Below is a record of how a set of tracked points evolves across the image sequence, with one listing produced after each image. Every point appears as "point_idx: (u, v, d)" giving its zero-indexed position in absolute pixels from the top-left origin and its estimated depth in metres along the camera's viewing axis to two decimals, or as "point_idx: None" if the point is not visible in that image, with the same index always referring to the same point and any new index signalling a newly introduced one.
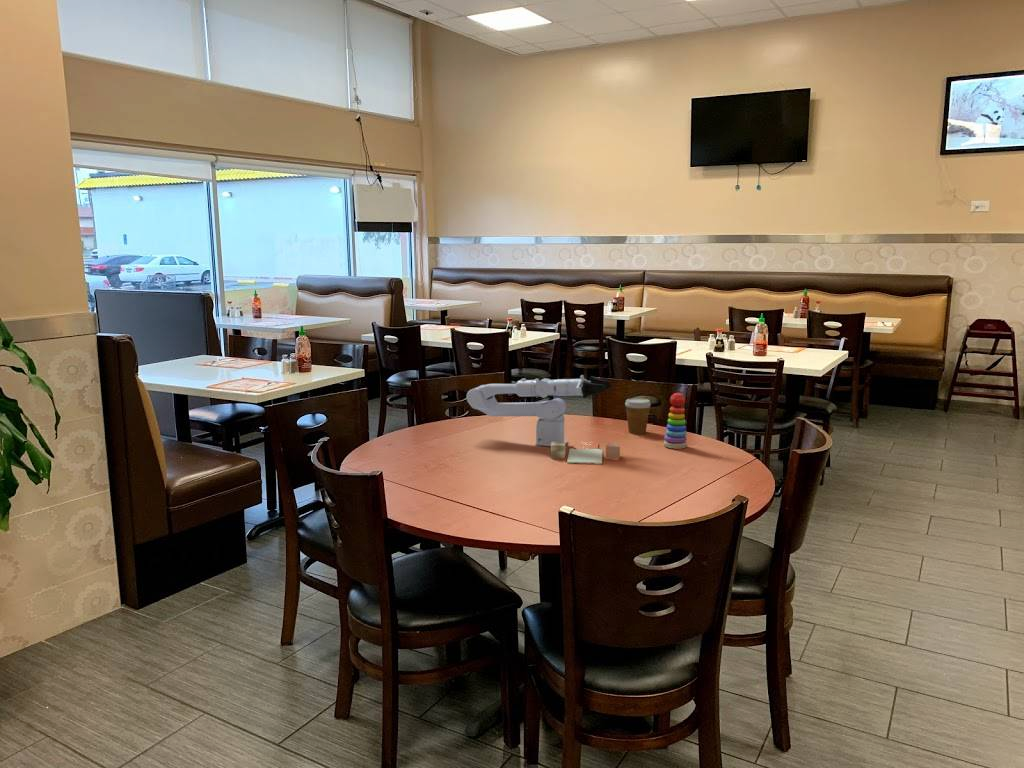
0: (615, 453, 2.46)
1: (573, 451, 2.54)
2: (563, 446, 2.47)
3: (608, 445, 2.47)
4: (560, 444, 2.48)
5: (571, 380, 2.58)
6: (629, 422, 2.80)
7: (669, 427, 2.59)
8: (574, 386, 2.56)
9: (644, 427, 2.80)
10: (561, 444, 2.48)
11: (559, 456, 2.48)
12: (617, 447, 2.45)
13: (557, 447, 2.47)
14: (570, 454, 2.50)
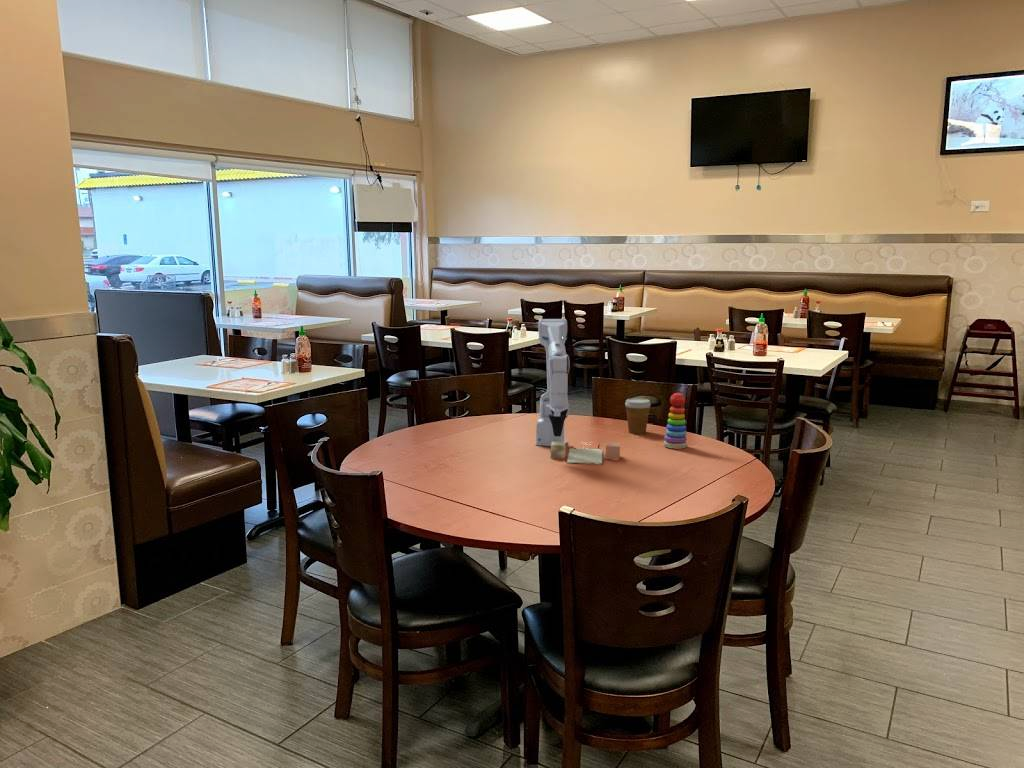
0: (615, 453, 2.46)
1: (573, 451, 2.54)
2: (563, 446, 2.47)
3: (608, 445, 2.47)
4: (560, 444, 2.48)
5: None
6: (629, 422, 2.80)
7: (669, 427, 2.59)
8: None
9: (644, 427, 2.80)
10: (561, 444, 2.48)
11: (559, 456, 2.48)
12: (617, 447, 2.45)
13: (557, 447, 2.47)
14: (570, 454, 2.50)
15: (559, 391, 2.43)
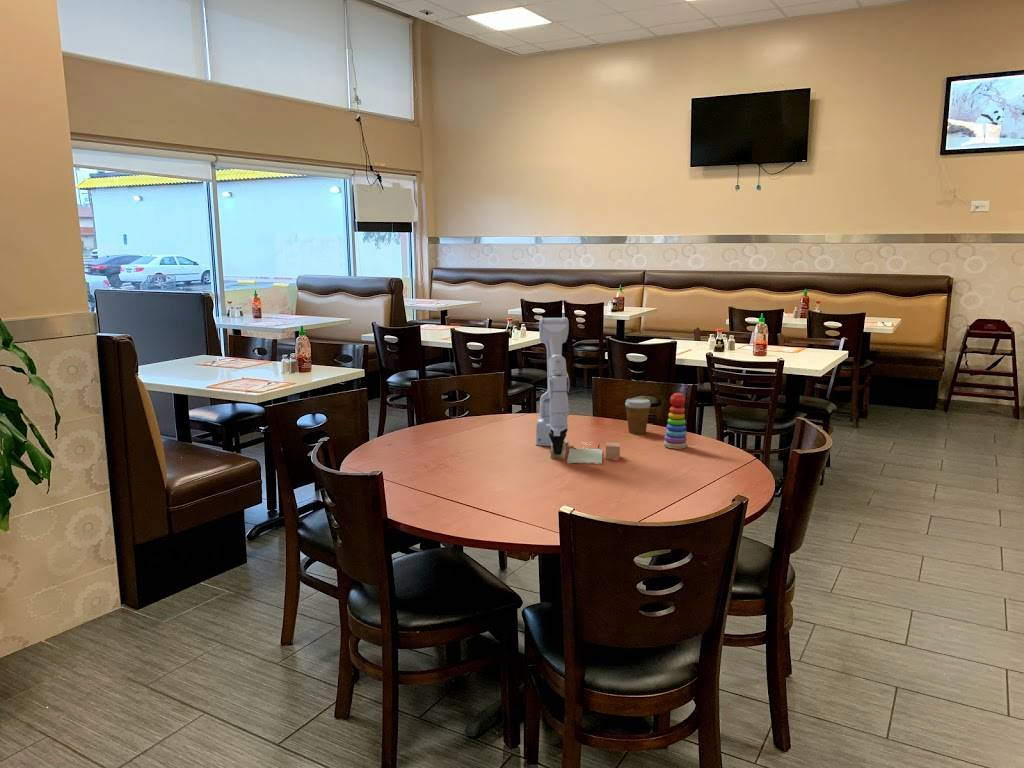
0: (615, 453, 2.46)
1: (573, 451, 2.54)
2: (563, 446, 2.47)
3: (608, 445, 2.47)
4: None
5: None
6: (629, 422, 2.80)
7: (669, 427, 2.59)
8: None
9: (644, 427, 2.80)
10: None
11: (559, 456, 2.48)
12: (617, 447, 2.45)
13: None
14: (570, 454, 2.50)
15: (559, 411, 2.45)
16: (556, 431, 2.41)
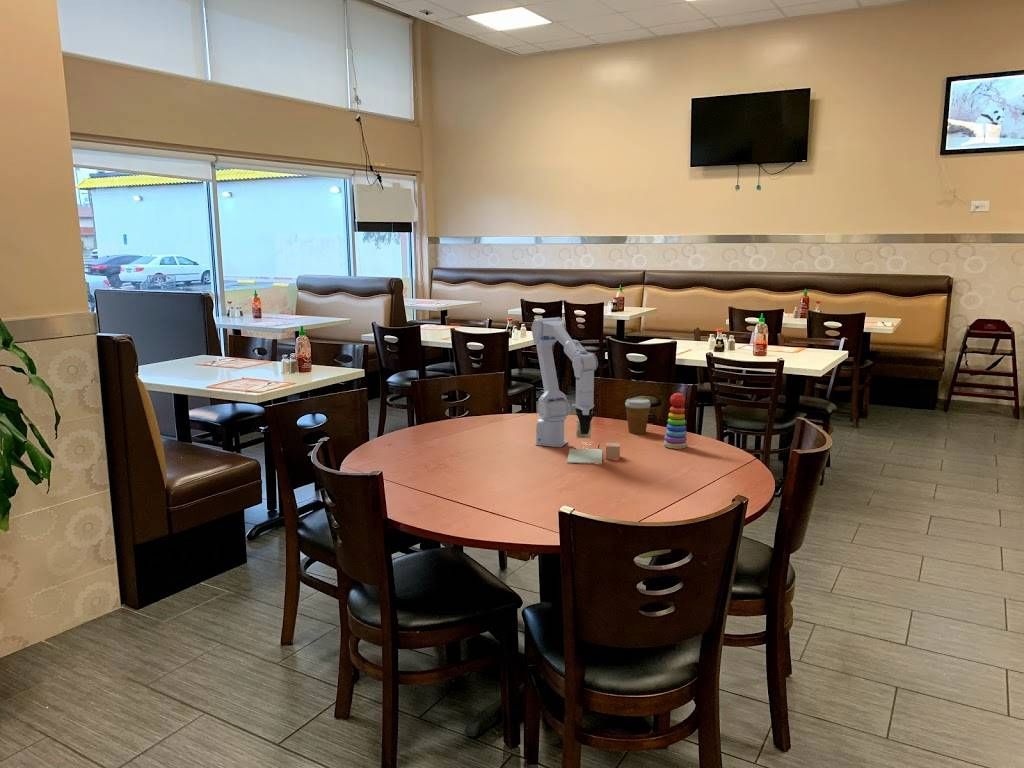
0: (615, 453, 2.46)
1: (573, 451, 2.54)
2: None
3: (608, 445, 2.47)
4: None
5: None
6: (629, 422, 2.80)
7: (669, 427, 2.59)
8: None
9: (644, 427, 2.80)
10: None
11: (585, 435, 2.46)
12: (617, 447, 2.45)
13: None
14: (570, 454, 2.50)
15: (589, 389, 2.43)
16: (585, 410, 2.39)
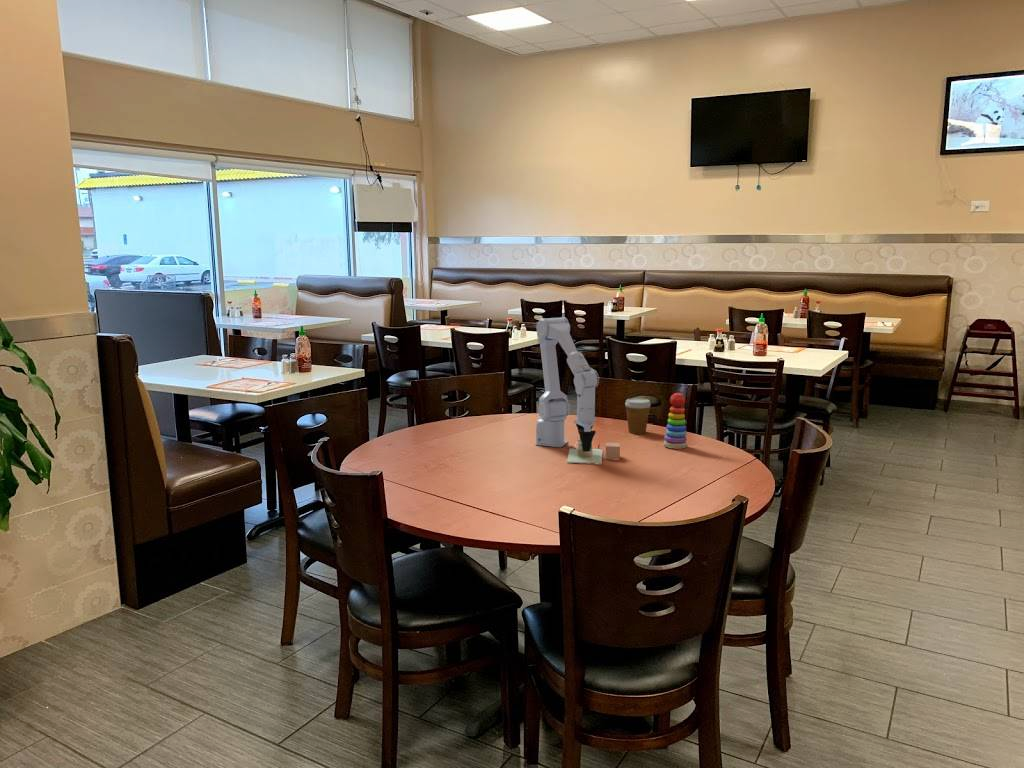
0: (615, 453, 2.46)
1: (573, 451, 2.54)
2: (591, 444, 2.46)
3: (608, 445, 2.47)
4: None
5: None
6: (629, 422, 2.80)
7: (669, 427, 2.59)
8: None
9: (644, 427, 2.80)
10: None
11: (587, 454, 2.47)
12: (617, 447, 2.45)
13: None
14: (570, 454, 2.50)
15: (591, 406, 2.44)
16: (587, 427, 2.40)
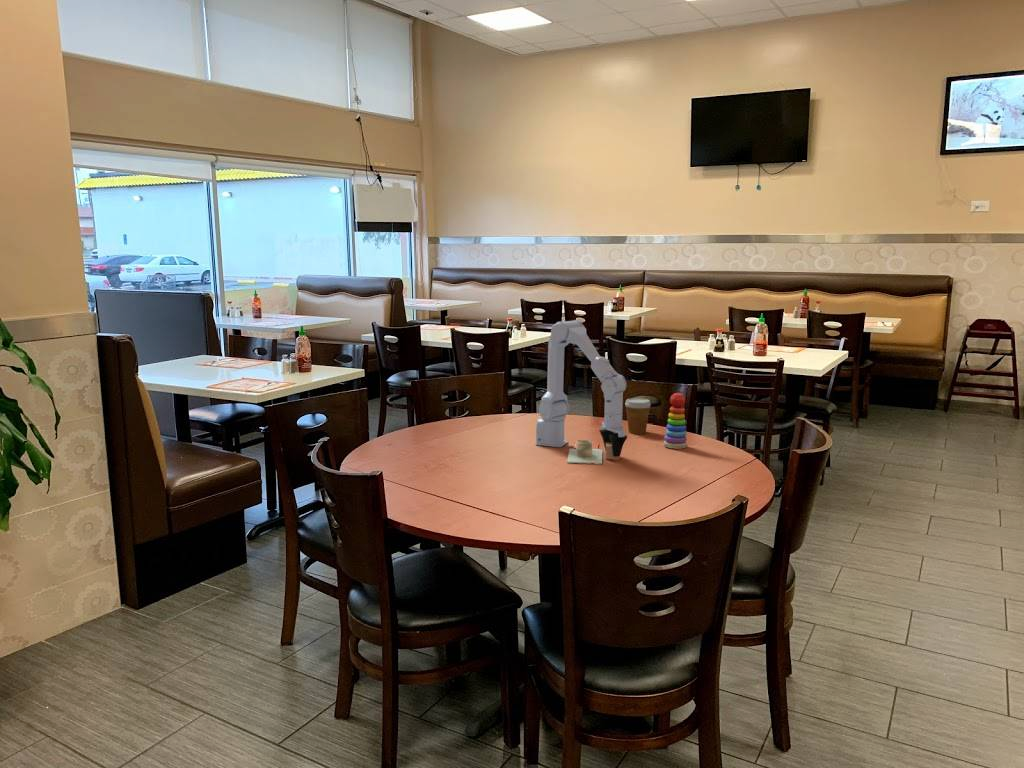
0: None
1: (573, 451, 2.54)
2: (591, 444, 2.46)
3: (608, 445, 2.47)
4: (587, 442, 2.47)
5: (604, 416, 2.46)
6: (629, 422, 2.80)
7: (669, 427, 2.59)
8: None
9: (644, 427, 2.80)
10: (588, 442, 2.47)
11: (587, 454, 2.47)
12: None
13: (584, 445, 2.46)
14: (570, 454, 2.50)
15: (620, 411, 2.44)
16: (621, 432, 2.40)
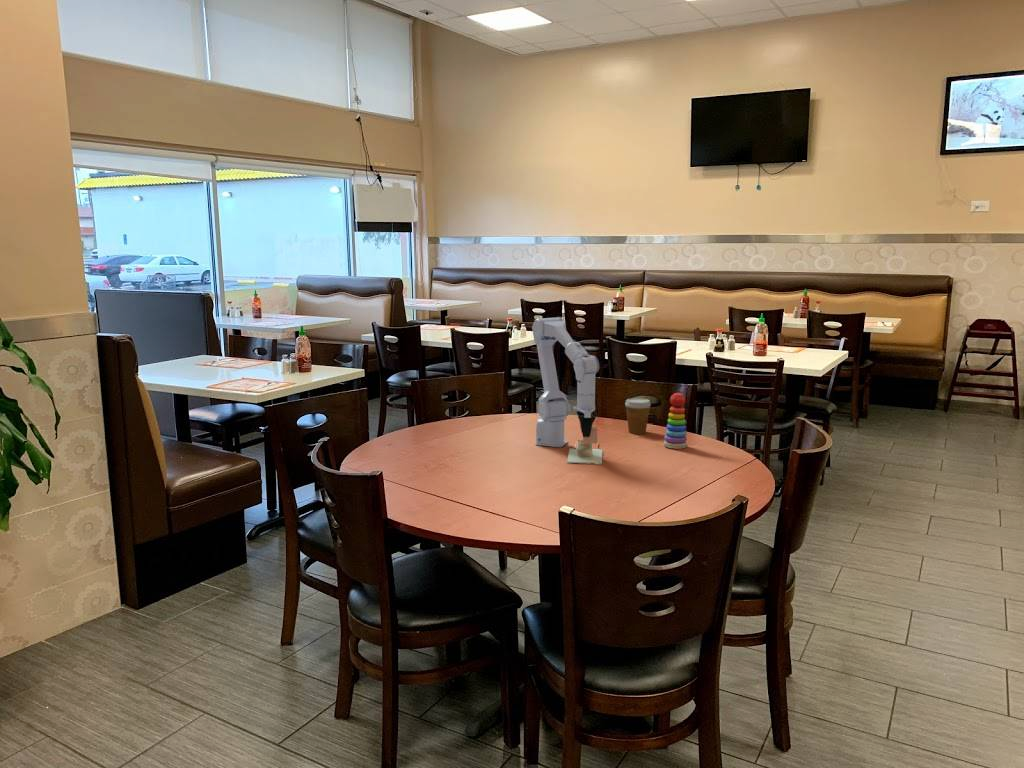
0: (592, 437, 2.45)
1: (573, 451, 2.54)
2: (591, 444, 2.46)
3: None
4: None
5: None
6: (629, 422, 2.80)
7: (669, 427, 2.59)
8: None
9: (644, 427, 2.80)
10: None
11: (586, 454, 2.47)
12: (594, 431, 2.45)
13: (584, 445, 2.46)
14: (570, 454, 2.50)
15: (591, 392, 2.43)
16: (587, 413, 2.39)
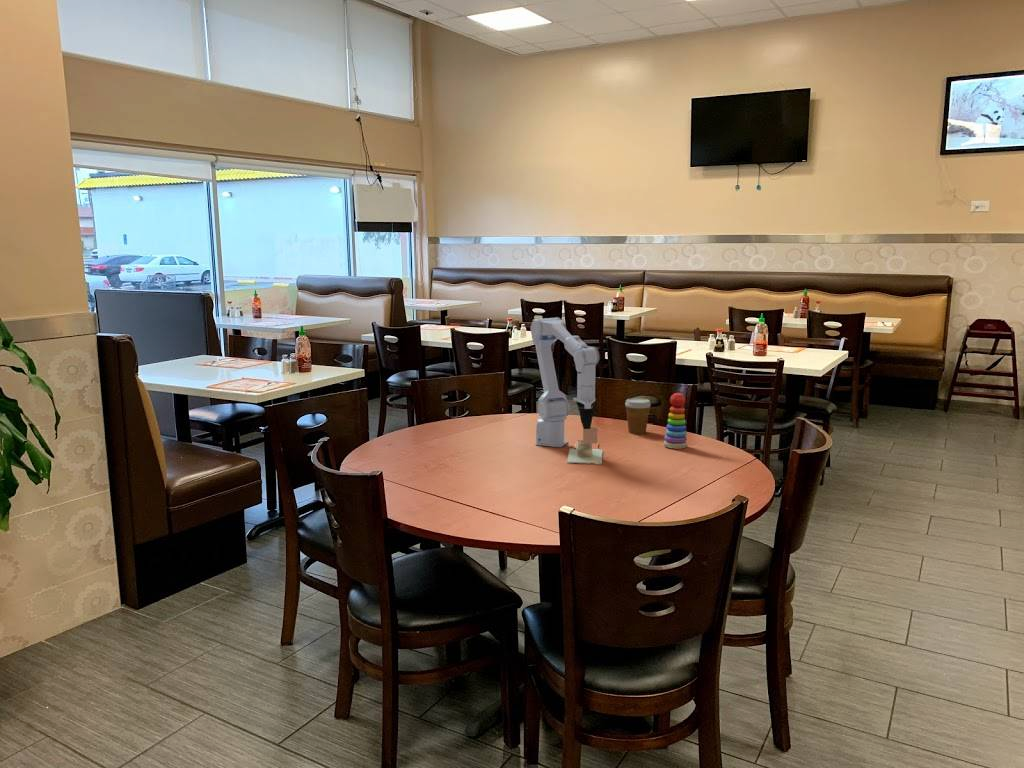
0: (592, 437, 2.45)
1: (573, 451, 2.54)
2: (591, 444, 2.46)
3: (586, 429, 2.46)
4: None
5: None
6: (629, 422, 2.80)
7: (669, 427, 2.59)
8: None
9: (644, 427, 2.80)
10: None
11: (586, 454, 2.47)
12: (594, 431, 2.45)
13: (584, 445, 2.46)
14: (570, 454, 2.50)
15: (591, 383, 2.42)
16: (587, 404, 2.39)
